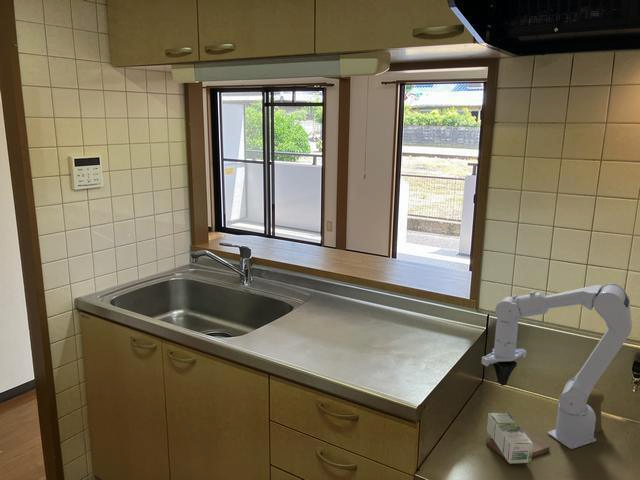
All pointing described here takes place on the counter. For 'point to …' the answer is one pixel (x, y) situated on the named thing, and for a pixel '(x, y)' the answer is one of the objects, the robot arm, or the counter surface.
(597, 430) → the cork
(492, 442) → the walnut board
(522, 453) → the syrup box
